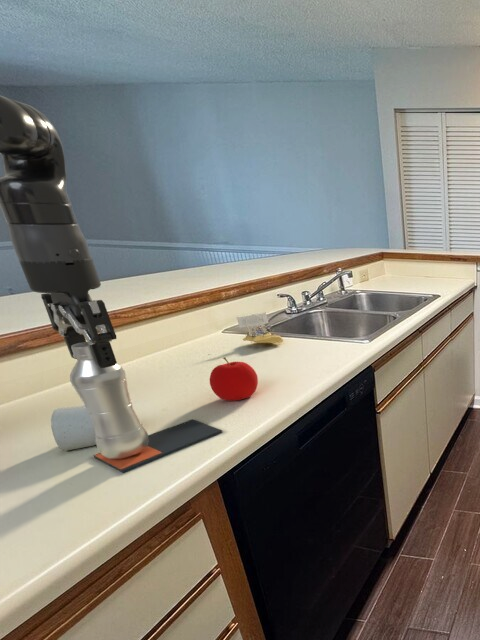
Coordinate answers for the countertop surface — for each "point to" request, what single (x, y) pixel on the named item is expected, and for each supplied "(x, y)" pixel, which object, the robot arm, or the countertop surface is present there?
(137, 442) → the plastic bottle
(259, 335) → the model sailing ship
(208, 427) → the mat
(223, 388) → the fruit
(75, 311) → the robot arm
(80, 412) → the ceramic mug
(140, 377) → the countertop surface
